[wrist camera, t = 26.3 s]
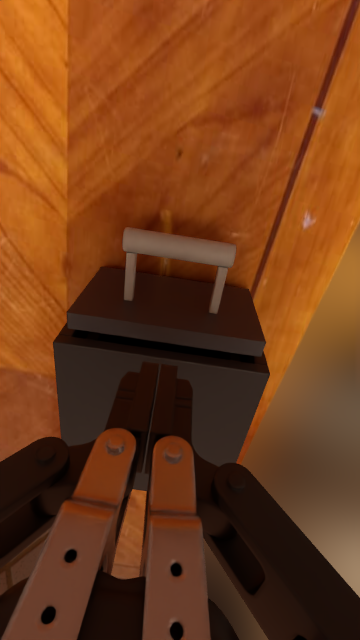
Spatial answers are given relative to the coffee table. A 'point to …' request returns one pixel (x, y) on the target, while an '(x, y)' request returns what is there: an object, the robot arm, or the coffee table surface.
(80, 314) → the pull-out drawer
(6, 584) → the planter
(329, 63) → the coffee table surface
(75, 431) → the single drawer box
